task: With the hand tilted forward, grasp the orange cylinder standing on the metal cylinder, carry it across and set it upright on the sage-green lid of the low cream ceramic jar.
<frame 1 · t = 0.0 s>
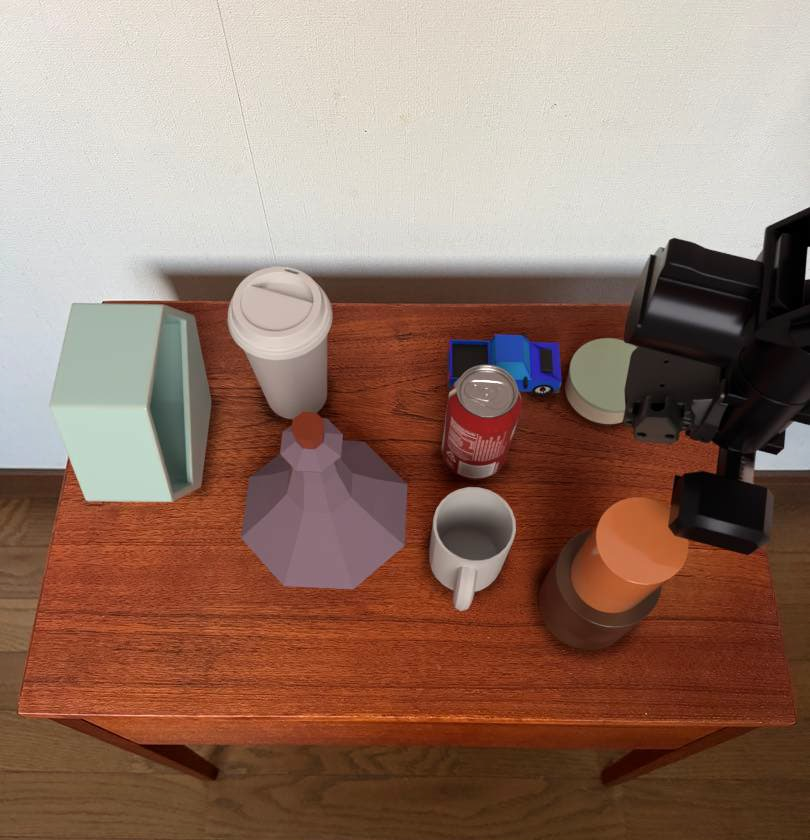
hand: (685, 474, 60), 14 cm above the table, tool pointing down, fingers open, 7 cm apart
metal cylinder: (584, 604, 70), on the table
planter: (169, 449, 76), on the table
soda can: (473, 454, 76), on the table
orange cylinder: (609, 574, 62), point 9 cm above the table, touching gripper, metal cylinder
cup: (463, 573, 71), on the table
toy car: (500, 377, 80), on the table
coffee cup: (297, 394, 79), on the table
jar: (604, 390, 79), on the table
flask: (329, 528, 73), on the table
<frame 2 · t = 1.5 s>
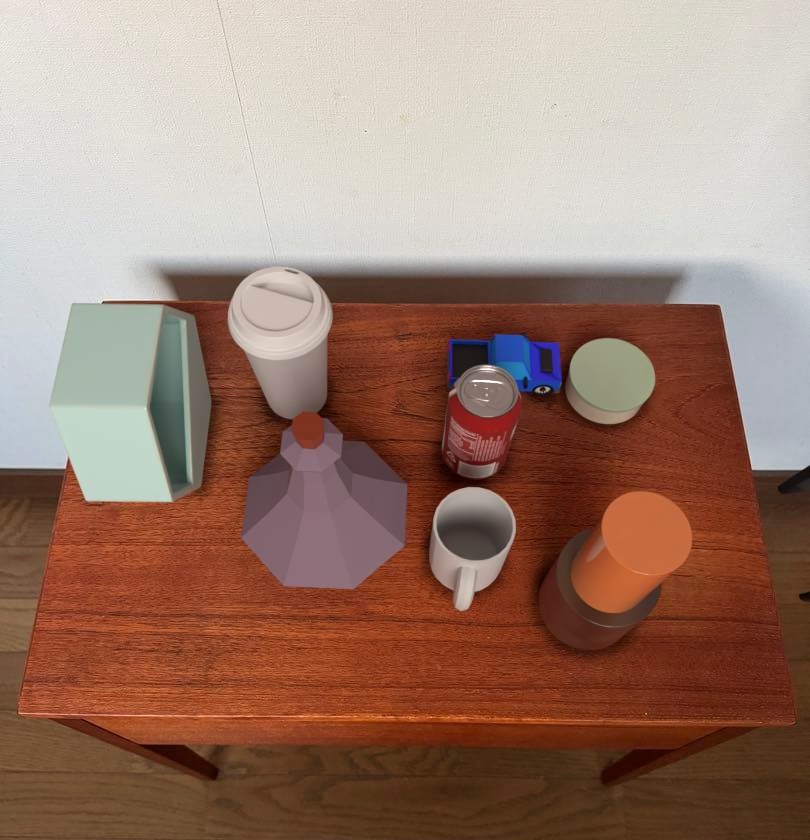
hand: (789, 542, 58), 13 cm above the table, tool tilted 45°, fingers open, 9 cm apart
orange cylinder: (609, 575, 62), point 8 cm above the table, touching metal cylinder
everything else where it was.
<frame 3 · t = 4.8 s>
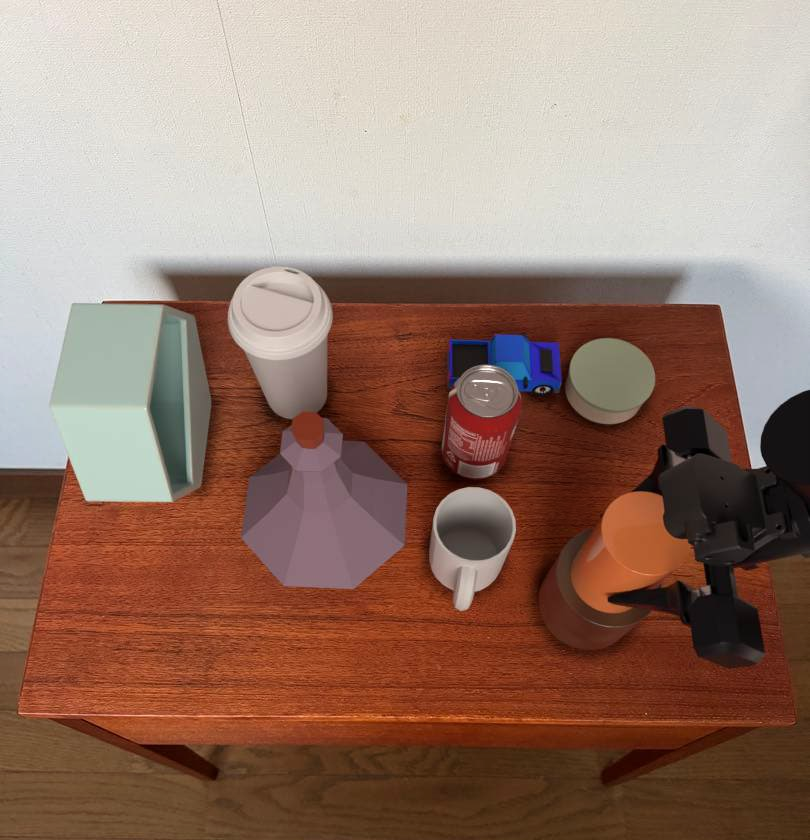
hand: (606, 559, 58), 13 cm above the table, tool tilted 45°, fingers closed on orange cylinder, 6 cm apart
orange cylinder: (609, 575, 62), point 9 cm above the table, touching gripper, metal cylinder
everything else where it was.
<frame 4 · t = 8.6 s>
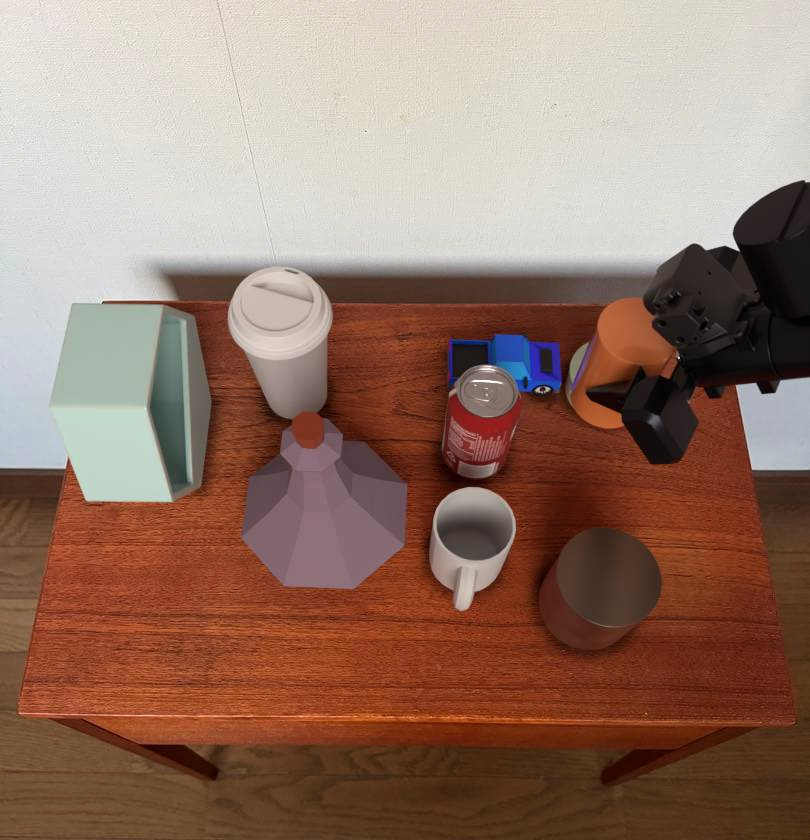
hand: (603, 365, 64), 14 cm above the table, tool tilted 45°, fingers closed on orange cylinder, 6 cm apart
orange cylinder: (605, 397, 68), point 10 cm above the table, touching gripper
everything else where it was.
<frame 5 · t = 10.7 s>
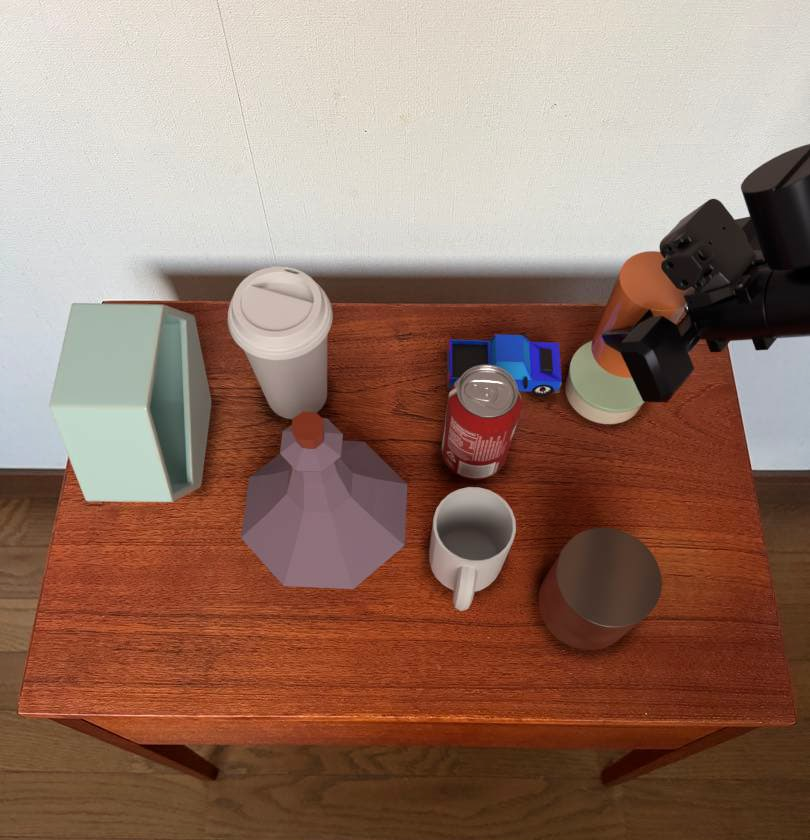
hand: (625, 316, 69), 11 cm above the table, tool tilted 45°, fingers closed on orange cylinder, 6 cm apart
orange cylinder: (624, 350, 73), point 7 cm above the table, touching gripper
everything else where it was.
when the fingers open (7 cm above the table, at t = 12.4 s): orange cylinder stays where it is, resting on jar.
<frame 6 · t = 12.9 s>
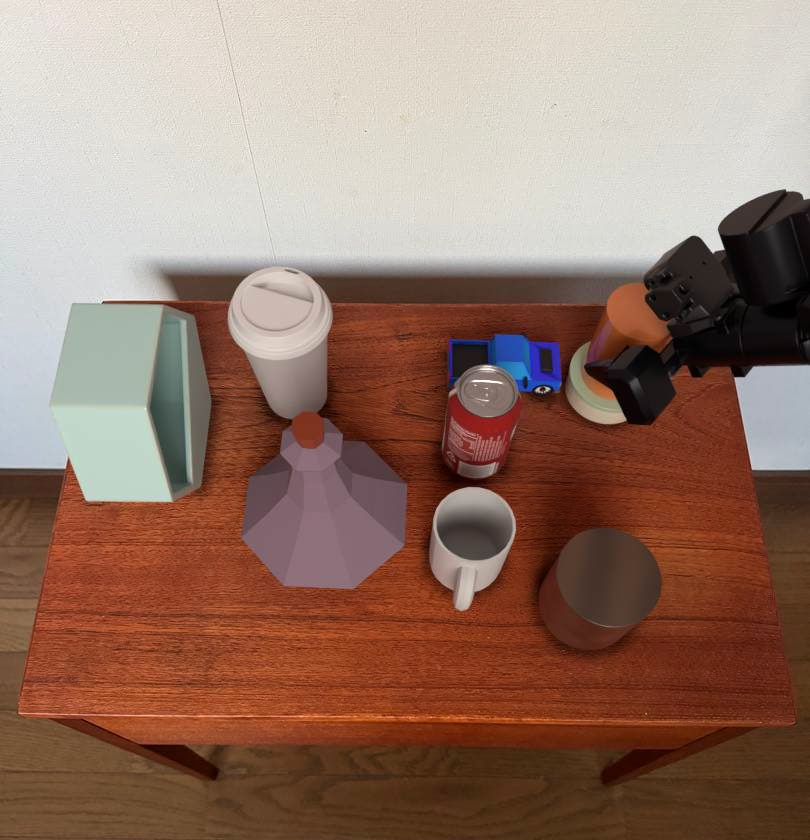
hand: (612, 340, 73), 8 cm above the table, tool tilted 45°, fingers open, 9 cm apart
orange cylinder: (612, 373, 76), point 3 cm above the table, touching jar
everything else where it was.
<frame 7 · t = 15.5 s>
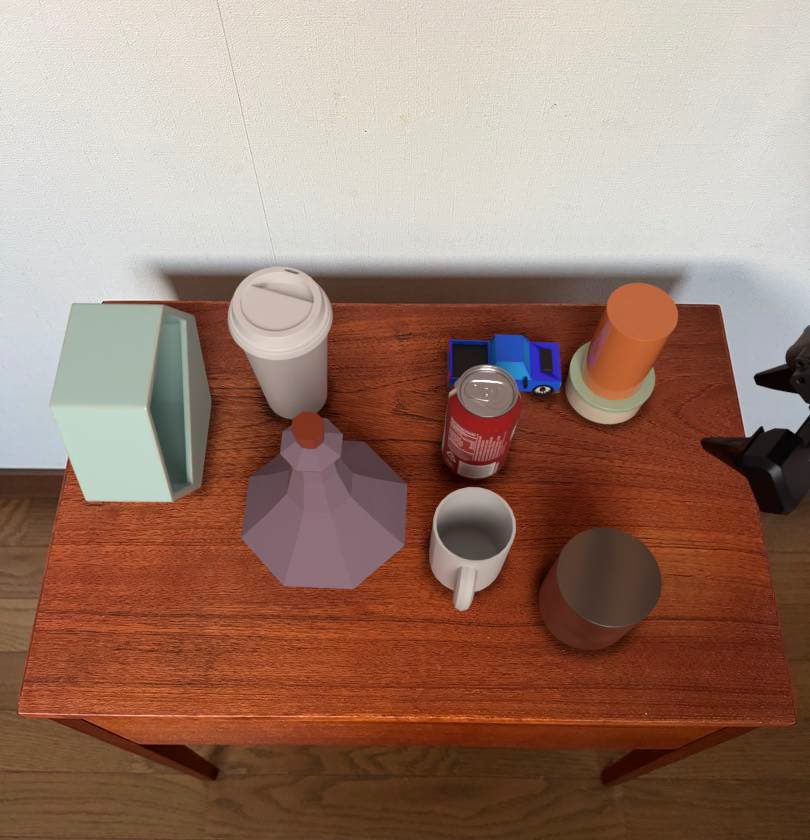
hand: (729, 410, 67), 10 cm above the table, tool tilted 45°, fingers open, 9 cm apart
nothing on the table moved.
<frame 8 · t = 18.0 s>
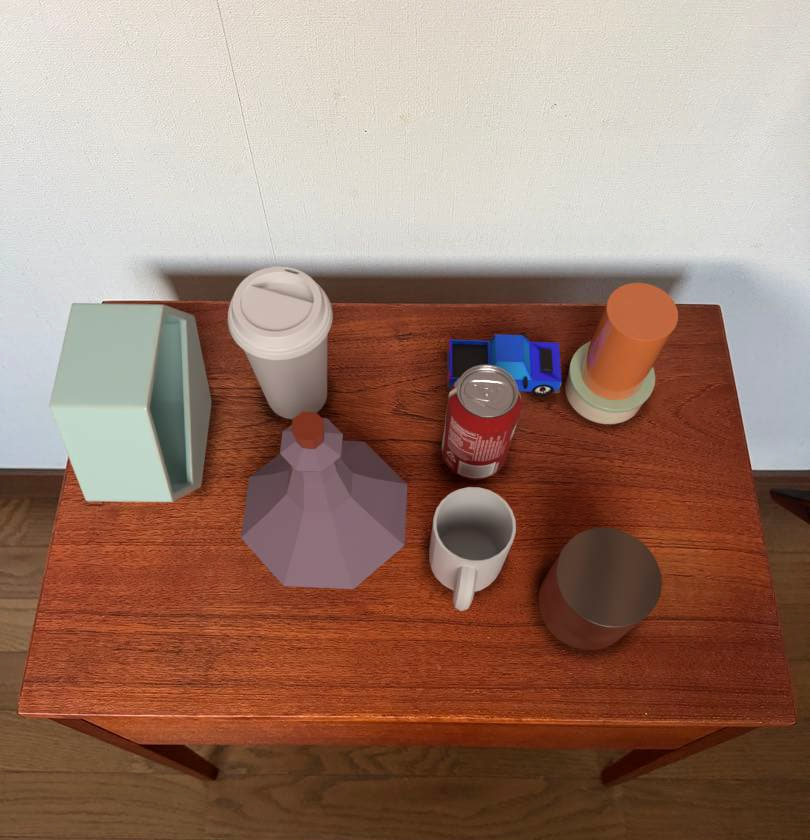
hand: (798, 457, 61), 14 cm above the table, tool tilted 45°, fingers open, 9 cm apart
nothing on the table moved.
at the end: orange cylinder 0.0 cm off-centre on the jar, point 3.2 cm above the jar's base; orange cylinder tilted 0°; the gripper is holding nothing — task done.
